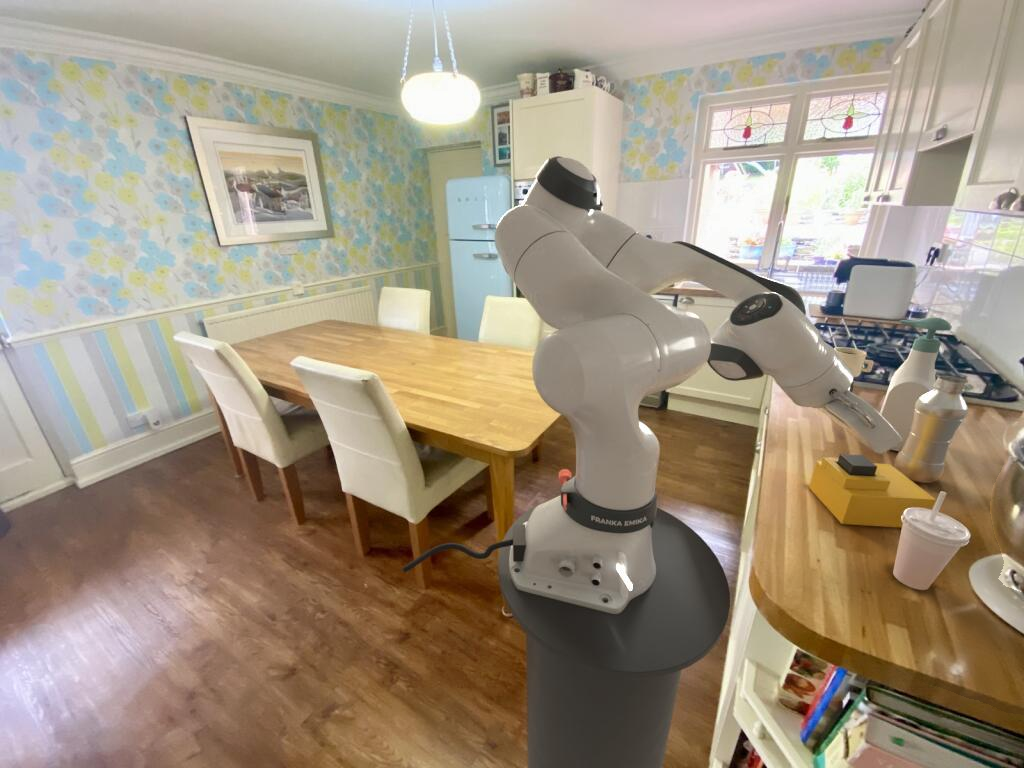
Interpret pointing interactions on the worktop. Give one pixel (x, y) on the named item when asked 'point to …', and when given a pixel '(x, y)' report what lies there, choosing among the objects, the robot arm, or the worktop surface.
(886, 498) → the stepped yellow pedestal
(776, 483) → the worktop surface
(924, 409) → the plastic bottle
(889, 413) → the soap bottle
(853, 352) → the character mug
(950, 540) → the smoothie
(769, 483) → the worktop surface
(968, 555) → the worktop surface
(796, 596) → the worktop surface
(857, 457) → the block
